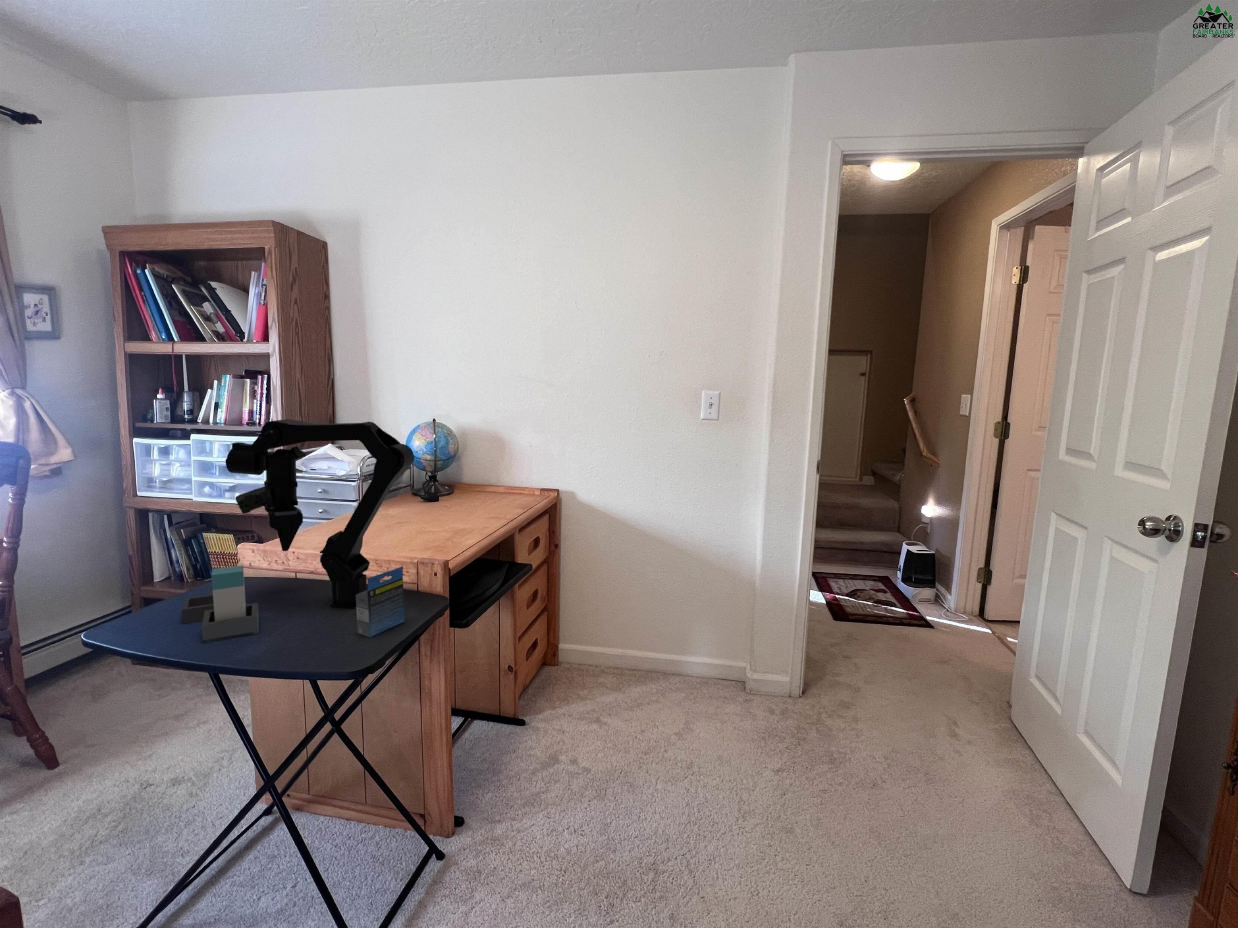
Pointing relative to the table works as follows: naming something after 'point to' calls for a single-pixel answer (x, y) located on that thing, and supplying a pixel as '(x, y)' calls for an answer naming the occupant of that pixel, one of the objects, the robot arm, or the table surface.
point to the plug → (228, 593)
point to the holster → (196, 608)
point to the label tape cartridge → (381, 604)
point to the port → (230, 625)
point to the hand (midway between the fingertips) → (283, 544)
